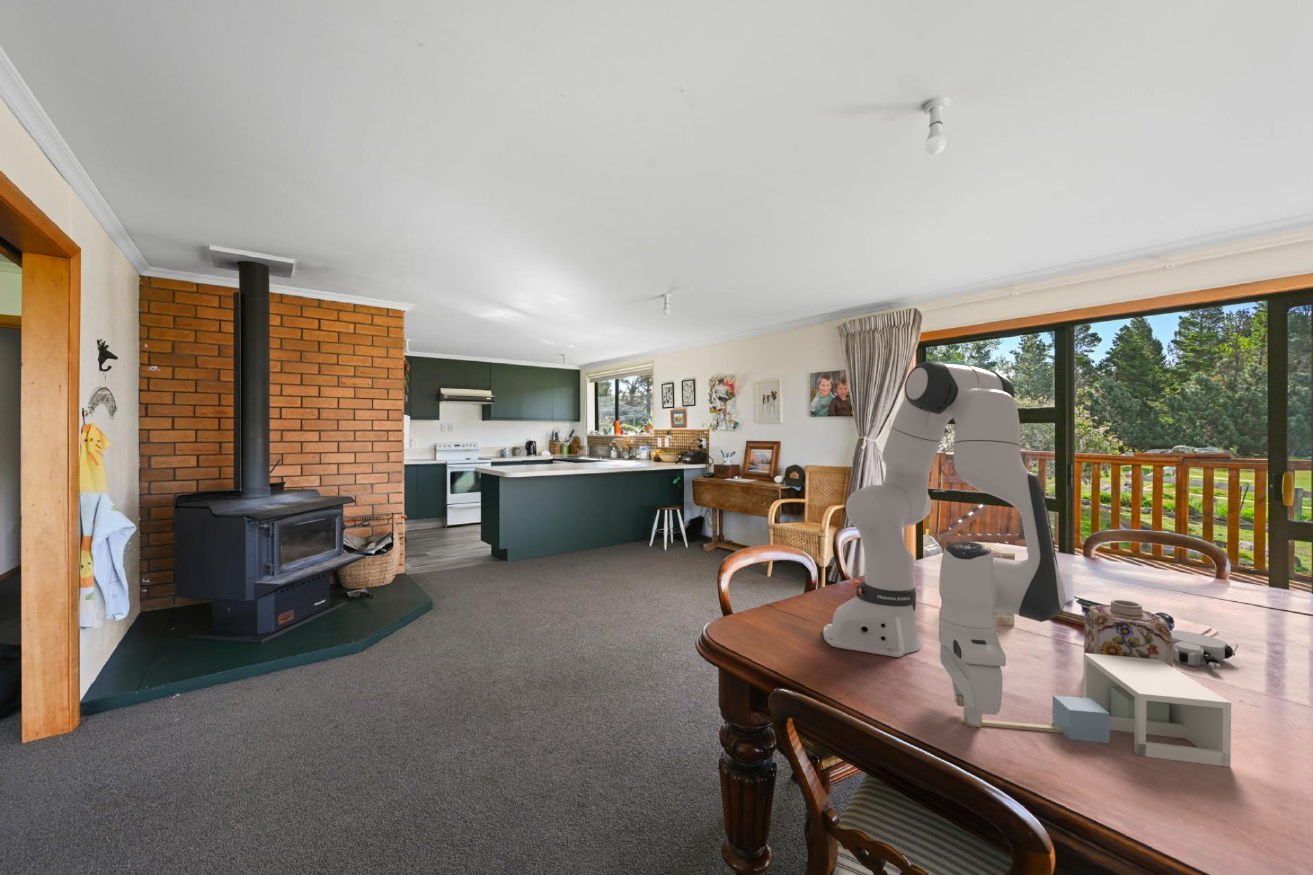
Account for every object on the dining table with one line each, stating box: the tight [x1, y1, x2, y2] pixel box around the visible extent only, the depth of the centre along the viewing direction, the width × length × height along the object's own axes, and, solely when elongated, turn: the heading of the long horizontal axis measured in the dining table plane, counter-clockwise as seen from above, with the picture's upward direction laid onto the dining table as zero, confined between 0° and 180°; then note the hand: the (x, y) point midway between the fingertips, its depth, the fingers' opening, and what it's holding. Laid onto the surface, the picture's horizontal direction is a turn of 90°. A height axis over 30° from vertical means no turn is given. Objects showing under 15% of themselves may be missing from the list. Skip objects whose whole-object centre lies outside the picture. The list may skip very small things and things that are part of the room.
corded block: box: [963, 695, 1111, 744], centre depth 92 cm, size 21×5×5 cm, turn 80°
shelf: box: [1082, 652, 1232, 768], centre depth 91 cm, size 12×16×10 cm
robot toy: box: [1169, 629, 1239, 669], centre depth 121 cm, size 12×4×15 cm
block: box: [1110, 687, 1169, 723], centre depth 94 cm, size 6×5×5 cm
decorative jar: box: [1083, 599, 1174, 668], centre depth 105 cm, size 12×12×18 cm
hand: (966, 713), depth 94 cm, fingers open, 5 cm apart
